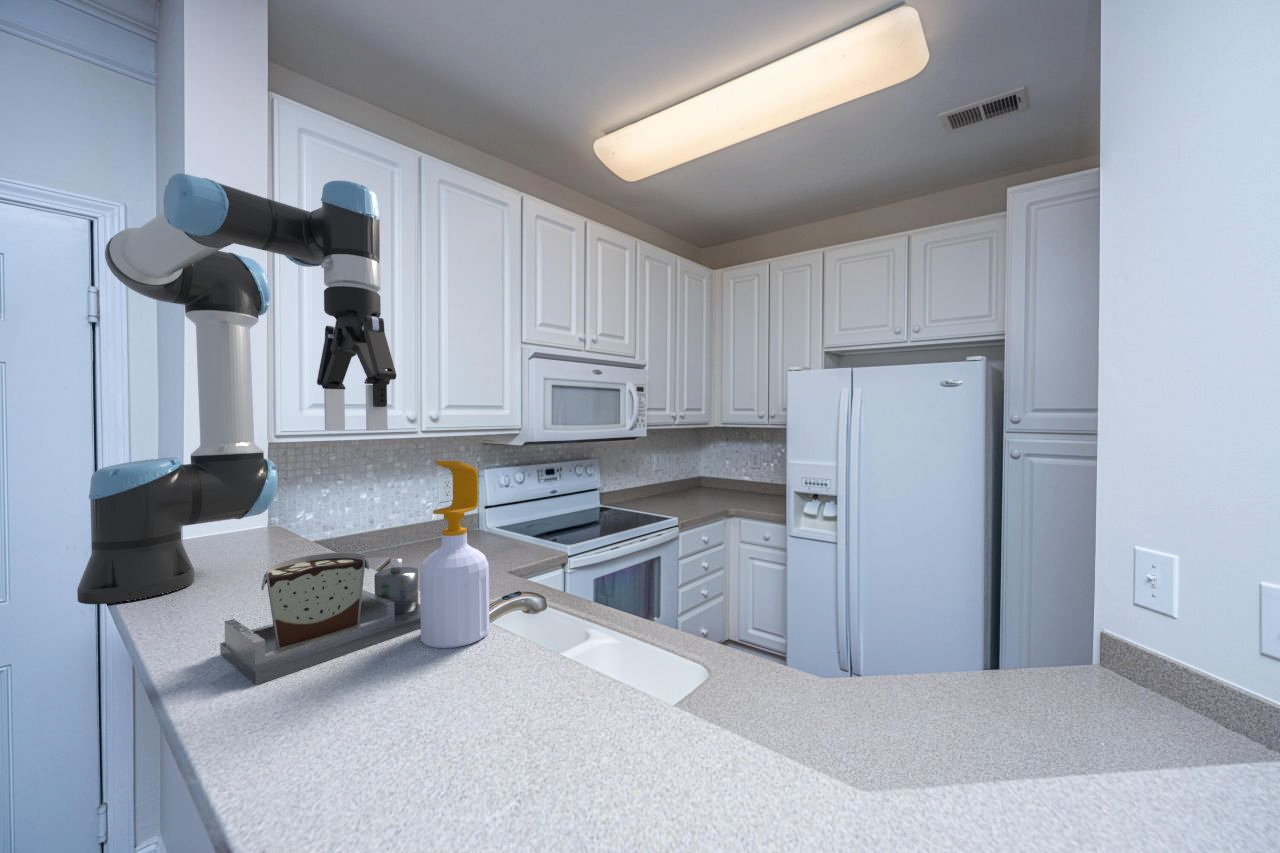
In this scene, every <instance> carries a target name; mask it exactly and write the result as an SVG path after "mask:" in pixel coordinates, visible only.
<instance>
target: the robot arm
mask: <svg viewBox="0 0 1280 853" xmlns="http://www.w3.org/2000/svg"><path fill="white" fill-rule="evenodd" d="M320 201H321V207H319V208H317V209H314V210H312V211H310V210H309V211H308V210H306V209H301V208H298V207H296V206H292V205H289V204H286V203H283V202H279V201H277V200H274V199H270V198H267V197H263V196H260V195H257V194H254V193H250V192H247V191H245V190H241V189H238V188H237V187H236V188H235V187H233V186H229V185H226V184H223V183H219V182H217V181H214V180H213V179H209V178H206V177H199V176H195V175H193V174H192V175H191V174H188V173H181V172H180V173H178V172H177V173H175V174H173V175H171V176H170V178H169V179H168V182H167V185H165V188H164V192H163V201H162V202H163V207H162V208H163V212H161V213H160V214H158V215H156V216H155V217H153V218H152V219H151V220H150V221H148V222H146V223H145V224H144V225H142V226H140V227H130V228H126V229H123V230H121V231H119V232H117V233H115V235H114V236H112V237H110V239H109V240H108V242H107V244H106V245H105V251H104V259H105V262H106V265H107V267H108V269H109V270H110V272H111V273H112V275H113V276H114V277H116V279H117V280H118V281H119V282H121V284H123V285H125V286H126V287H127V288H129V289H130V290H132V291H134V292H136V293H137V294H140V295H142V296H144V297H146V298H150V299H152V300H155V301H159V302H165V303H170V304H177V305H181V306H182V305H183V306H184V313H185V317H186V318H187V319H188V320H189V321H191V322H192V323H193V324H194V325H195V336H196V337H195V339H196V362H197V364H196V365H197V366H196V367H197V368H196V369H197V389H198V392H197V394H198V416H199V418H198V419H199V442H200V444H199V446H198V447H197V448H196V449H195V450H194V451H193V452H192V453H190V463H188V464H182V461H180V458H178V457H162V458H155V459H153V458H152V459H144V460H143V459H142V460H137V461H131V462H130V461H129V462H123V463H118V464H114V465H108V466H104V467H102V468H99V469H97V470H96V471H95V472H93V474H92V475H91V478H90V487H89V494H88V499H89V501H90V529H91V530H90V536H91V538H90V539H91V554H90V557H89V559H88V562H87V564H86V566H85V569H84V571H83V573H82V576H81V578H80V581H79V583H78V586H77V590H76V592H77V602H78V603H81V604H83V605H84V604H85V605H107V604H108V605H109V604H117V603H116V602H120V603H122V602H121V601H127V600H134V601H136V600H135V599H140V598H145V597H150V598H152V597H151V596H155V597H157V596H156V595H159V594H162V593H167V592H170V591H174V590H177V589H180V590H182V589H181V588H183V589H185V588H187V587H189V586H191V585H193V584H194V583H195V581H194V580H196V579H195V568H194V565H193V564H192V562H191V560H190V557H189V555H188V553H187V551H186V549H185V547H184V545H183V542H182V541H183V540H182V528H183V527H185V526H193V525H201V524H205V523H206V524H207V523H215V522H220V521H222V522H223V521H228V520H243V519H244V518H248V517H254V516H259V515H261V514H263V513H265V512H266V511H267V510H268V509H269V508H270V507H271V504H272V503H273V502H274V500H275V496H276V494H277V493H276V492H277V489H278V488H277V487H278V482H279V481H278V476H279V475H278V471H277V470H276V465H275V463H274V462H273V461H272V460H270V459H268V458H265V452H264V450H263V449H262V448H260V446H258V445H256V443H255V428H254V426H255V425H254V423H255V422H254V403H253V401H254V400H253V380H252V378H253V377H252V376H253V375H252V373H253V372H252V352H251V351H252V350H251V328H252V327H254V326H255V325H257V323H259V316H263V315H265V314H266V313H267V311H268V310H269V308H270V303H269V302H270V301H271V288H270V282H269V279H268V276H267V274H266V271H265V270H264V268H263V267H262V266H261V264H260V263H258V262H257V261H256V260H254V259H253V258H249V257H245V256H242V255H239V254H236V253H234V252H227V251H221V250H222V249H224V248H226V247H228V246H231V245H240V246H243V247H248V248H252V249H257V250H260V251H265V252H269V253H273V254H278V255H282V256H284V257H285V258H287V259H289V261H291V262H292V263H294V265H295V264H296V265H297V266H301V267H305V268H306V267H307V268H312V267H321V269H323V284H324V285H325V286H326V288H325V289H324V290H323V311H324V313H325V314H326V315H328V316H330V317H333V318H335V326H333V325H326V326H325V328H324V343H323V347H322V351H321V352H322V353H321V359H320V363H319V368H318V373H317V378H316V384H317V385H318V386H321V388H322V390H323V398H324V399H323V402H324V408H323V409H324V430H325V431H345V430H346V413H345V412H346V411H345V410H346V409H345V390H346V386H345V384H344V381H345V378H346V375H347V372H348V369H349V366H350V364H351V361H352V358H353V357H355V356H357V358H358V360H359V362H360V365H361V366H362V369H363V371H364V374H365V375H366V378H365V379H364V381H363V383H364V384H365V421H366V422H365V428H366V429H365V430H366V431H388V426H389V425H388V385H390V382H391V381H392V380H394V381H395V380H396V379H397V372H396V367H395V365H394V362H393V361H394V360H393V357H392V354H391V350H390V347H389V342H388V339H387V336H386V333H385V322H384V318H382V317H381V315H382V312H381V309H382V308H381V295H380V293H378V292H380V291H381V264H380V259H381V258H380V257H381V256H380V255H381V254H380V252H381V249H380V246H381V245H380V244H381V240H380V238H381V236H380V234H381V232H380V231H381V230H380V229H381V227H380V226H381V225H380V224H381V223H380V222H381V217H380V214H379V210H380V209H379V198H378V196H377V195H376V193H375V192H374V191H373V190H371V189H370V188H368V187H367V186H365V185H363V184H359V183H357V182H353V181H350V180H349V181H348V180H331V181H328V182H325V184H324V185H323V187H322V194H321V198H320ZM193 582H194V583H193ZM192 583H193V584H192ZM190 584H191V585H190ZM188 585H189V586H188ZM186 586H187V587H186ZM184 587H185V588H184ZM177 591H178V590H177ZM174 592H175V591H174ZM167 594H168V593H167ZM159 596H160V595H159ZM145 599H146V598H145ZM140 600H141V599H140Z"/></svg>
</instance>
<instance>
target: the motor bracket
mask: <svg viewBox="0 0 1280 853" xmlns="http://www.w3.org/2000/svg"><path fill="white" fill-rule="evenodd" d="M389 560H390V568H386V569H382V570H379V571H378V572H375V574H374V579H373V580H374V593H372V592H370V591H368V590H364V589H363V590H362V601H361V611H360V622H359V625H356V626H353V627H350V628H347V629H343V630H340V631H337V632H334V633H331V634H327V635H324V636H321V637H318V638H314V639H311V640H308V641H305V642H302V643H298V644H295V645H292V646H289V647H285V648H282V649H279V650H277V647H276V640H275V633H274V626H273V623H272V624H267V625H263V626H260V627H256V628H253V629H249V628H248V627H247V626H245V625H244V624H242V623H241V622H239V621H237V620H236V619H234V618H233V619H229V620H225V621H224V642H221V643H219V650H220V651H219V652H220V653H219V654H220V656H221V657H222V658H223V659H224V660H226V661H227V662H228V663H230V664H231V665H232V666H233V667H234V668H235V669H236V670H237V671H239V672H240V673H241V674H242V675H243V676H244V677H246V678H247V679H248V680H249V681H250V682H252V683H253V684H254V685H255V686H258V685H261V684H263V683H266V682H269V681H273V680H274V679H277V678H278V679H279V678H281V677H283V676H286V675H289V674H291V673H294V672H297V671H300V670H305V669H306V668H310V667H312V666H316V665H318V664H322V663H325V661H329V660H333V659H335V658H338V657H341V656H344V655H346V654H350V653H352V652H355V651H359V650H361V649H365V648H367V647H369V646H373V645H376V644H379V643H381V642H384V641H386V640H391V639H393V638H396V637H399V636H401V635H404V634H407V633H411V632H413V631H417V630H419V629H421V610H420V603H419V570H418V568H417V567H414V566H413V567H412V566H403V558H401V557H394V558H391V559H389Z"/></svg>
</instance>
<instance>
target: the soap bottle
mask: <svg viewBox="0 0 1280 853" xmlns="http://www.w3.org/2000/svg"><path fill="white" fill-rule="evenodd" d="M434 465H436V466H440V467H442V468H445V469H447V470H449V471H450V472H451V476H452V501H451V504H450V505H449V506H445V507H442V508H438V509H434V510H433V511H432V512H433V514H434V515H443V520H447V528H444V529H441V545H440V547H439V548H437V549H436V550H435V551H433V552H432V553H431V554H429V555H428V556H427V557H426V558H425V559H424V560H423V561H422V562H421V566H420V569H419V588H420V589H419V595H420V596H419V598H420V600H419V602H420V603H419V604H420V610H421V628H420V640H421V642H422V643H423V644H424V645H425V646H428V647H432V648H436V649H453V648H459V647H464V646H468V645H470V644H471V645H472V644H473V643H476V642H478V641H480V640H482V639H483V638H485V637H486V636H487V635H488V633H489V631H490V628H491V627H490V570H489V568H490V566H489V565H490V564H489V562H488V559H487V557H486V555H485V554H484V553H483V552H481V551H480V550H479V549H477V548H474V547H472V546H470V544H468V530H467V527H465V526H464V527H462V526H461V520H462V519H465V513H468V512H471V511H475V510H476V509H477V507H478V505H479V472H478V469H477V468H476V467H475V466H473V465H470V464H468V463H465V462H463V461H459V460H457V461H456V460H435V464H434Z"/></svg>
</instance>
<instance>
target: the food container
mask: <svg viewBox="0 0 1280 853" xmlns="http://www.w3.org/2000/svg"><path fill="white" fill-rule="evenodd" d="M366 569H367V570H370V565H369V561H368V559H367V558H366V554H363V553H360V552H349V551H347V552H343V551H342V552H337V551H336V552H326V553H317V554H311V555H310V554H309V555H305V556H299V557H295V558H290V559H286V560H282V561H280V562H277V563H275V564H272V565H271V566H269V567H268V568H267V569H266V571H265V573H264V574H263V579H262V582H261V583H262V584H261V588H260V589H261V591H263V590H265V586H267V592H268V597H269V604H270V611H271V620H272V624H273V626H274V633H275V640H276V647H277V650H279V649H282V648H285V647H289V646H292V645H295V644H298V643H302V642H305V641H308V640H311V639H314V638H318V637H321V636H324V635H327V634H331V633H334V632H337V631H340V630H343V629H347V628H350V627H353V626H356V625H359V622H360V611H361V601H362V590H364V588H363V587H364V577H365V570H366Z"/></svg>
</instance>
